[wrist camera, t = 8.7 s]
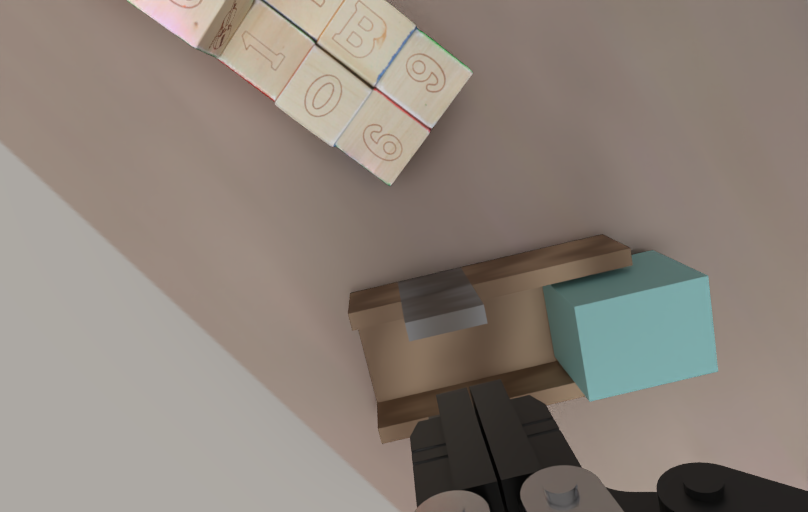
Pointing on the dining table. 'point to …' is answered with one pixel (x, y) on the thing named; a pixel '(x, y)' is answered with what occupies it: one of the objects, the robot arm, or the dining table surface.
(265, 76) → the stack of blocks
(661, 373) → the block
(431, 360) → the wooden rail tray
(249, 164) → the dining table surface
